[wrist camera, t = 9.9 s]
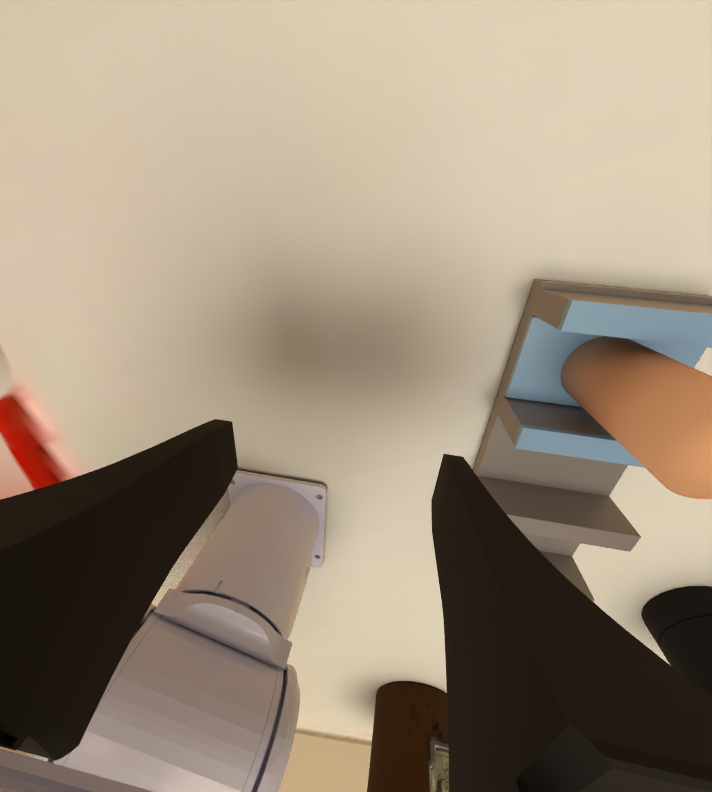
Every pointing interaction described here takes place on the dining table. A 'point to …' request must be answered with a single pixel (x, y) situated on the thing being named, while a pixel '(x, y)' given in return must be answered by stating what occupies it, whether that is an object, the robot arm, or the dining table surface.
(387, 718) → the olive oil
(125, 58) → the dining table surface
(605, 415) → the tan rounded cylinder
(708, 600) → the wine bottle
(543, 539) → the grey slotted rack
